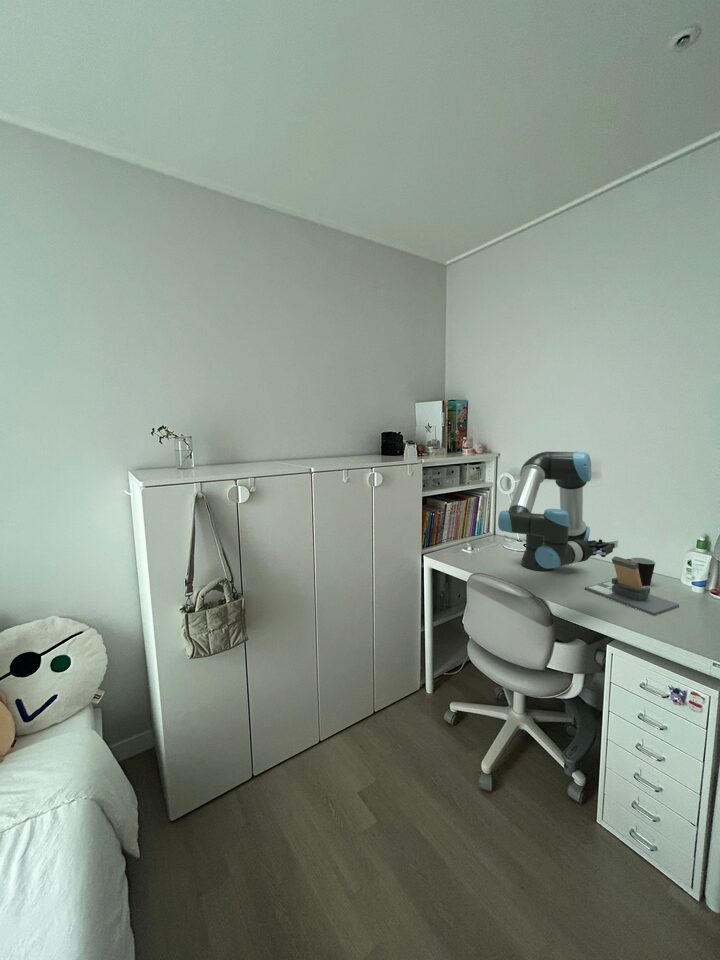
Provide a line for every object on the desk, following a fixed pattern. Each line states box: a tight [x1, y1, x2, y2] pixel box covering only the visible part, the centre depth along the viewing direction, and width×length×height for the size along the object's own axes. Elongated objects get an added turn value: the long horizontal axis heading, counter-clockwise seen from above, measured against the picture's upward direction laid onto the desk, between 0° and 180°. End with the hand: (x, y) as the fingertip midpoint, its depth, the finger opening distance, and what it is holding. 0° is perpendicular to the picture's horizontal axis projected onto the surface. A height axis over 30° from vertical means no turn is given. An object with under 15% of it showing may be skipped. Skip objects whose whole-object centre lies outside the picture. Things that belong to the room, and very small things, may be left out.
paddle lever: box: [611, 555, 644, 591], centre depth 150 cm, size 9×2×13 cm, turn 25°
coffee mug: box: [626, 557, 656, 587], centre depth 168 cm, size 12×9×10 cm
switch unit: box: [584, 576, 680, 616], centre depth 152 cm, size 26×16×6 cm, turn 25°
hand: (615, 543), depth 145 cm, fingers closed
